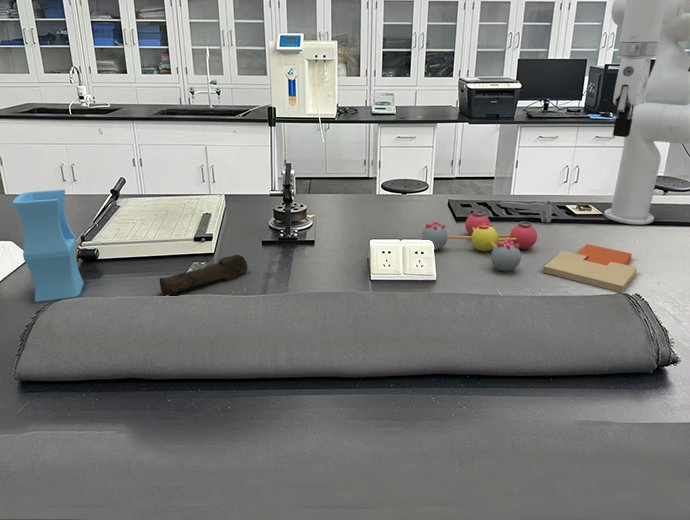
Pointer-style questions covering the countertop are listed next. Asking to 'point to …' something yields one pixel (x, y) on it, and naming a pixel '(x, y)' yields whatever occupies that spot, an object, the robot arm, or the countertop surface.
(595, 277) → the notch pad
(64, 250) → the vase
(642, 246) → the countertop surface
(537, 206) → the caliper
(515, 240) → the molecule model
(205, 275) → the hand tool
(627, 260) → the tab pad
